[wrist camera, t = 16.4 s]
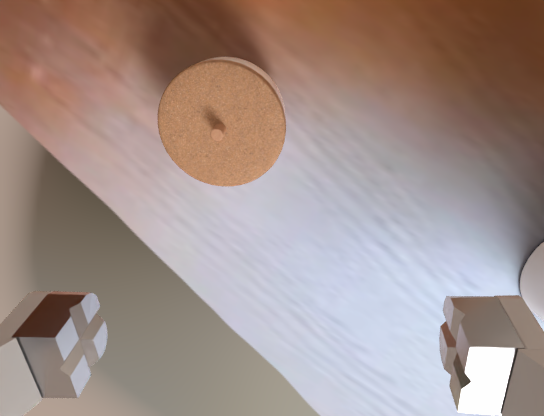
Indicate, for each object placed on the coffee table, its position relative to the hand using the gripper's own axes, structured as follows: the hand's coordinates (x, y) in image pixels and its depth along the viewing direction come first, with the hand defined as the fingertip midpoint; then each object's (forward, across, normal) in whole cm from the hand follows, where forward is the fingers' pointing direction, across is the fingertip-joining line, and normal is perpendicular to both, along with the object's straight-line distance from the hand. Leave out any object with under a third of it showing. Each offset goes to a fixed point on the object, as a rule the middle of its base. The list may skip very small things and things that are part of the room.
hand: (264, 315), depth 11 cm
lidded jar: (+35, -7, -4) cm, 36 cm away
